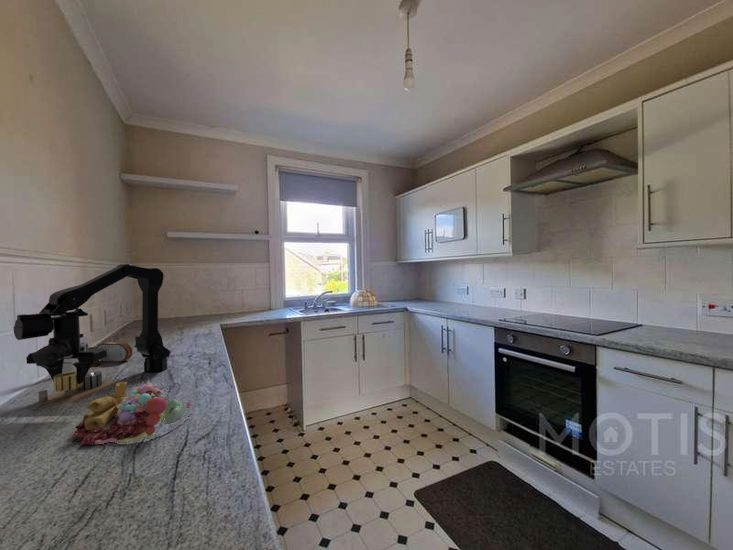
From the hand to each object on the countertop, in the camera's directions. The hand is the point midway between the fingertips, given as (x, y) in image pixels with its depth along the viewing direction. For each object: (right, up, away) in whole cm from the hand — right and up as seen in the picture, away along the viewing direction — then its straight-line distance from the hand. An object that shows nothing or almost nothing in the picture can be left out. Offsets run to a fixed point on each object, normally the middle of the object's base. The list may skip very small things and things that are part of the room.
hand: (68, 383), depth 94 cm
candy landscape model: (+31, -6, -13) cm, 34 cm away
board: (0, -5, +4) cm, 6 cm away
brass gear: (0, -1, 0) cm, 1 cm away
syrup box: (-20, -5, +24) cm, 31 cm away
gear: (0, -4, +8) cm, 8 cm away
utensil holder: (-24, -4, +33) cm, 41 cm away
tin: (-18, -4, +39) cm, 43 cm away
